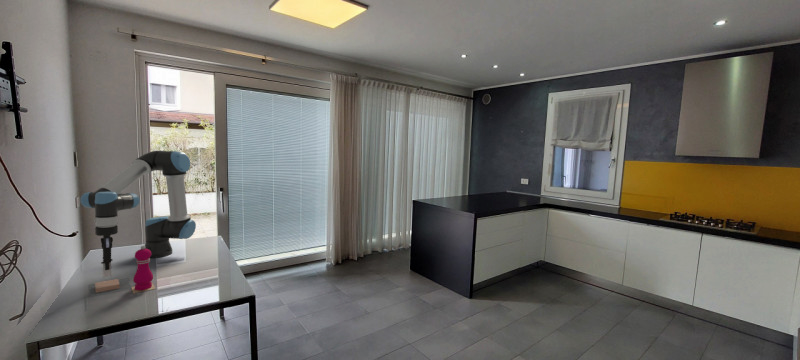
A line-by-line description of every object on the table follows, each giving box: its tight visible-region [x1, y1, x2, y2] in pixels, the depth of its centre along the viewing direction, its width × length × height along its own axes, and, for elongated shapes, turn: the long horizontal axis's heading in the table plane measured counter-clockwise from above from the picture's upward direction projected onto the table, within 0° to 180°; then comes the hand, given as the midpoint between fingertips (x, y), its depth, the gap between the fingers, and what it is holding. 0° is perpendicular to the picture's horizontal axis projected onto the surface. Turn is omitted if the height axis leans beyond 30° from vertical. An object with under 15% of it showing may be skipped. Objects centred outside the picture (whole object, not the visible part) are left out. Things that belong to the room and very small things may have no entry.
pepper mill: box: [132, 245, 154, 290], centre depth 149 cm, size 7×7×20 cm
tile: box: [94, 278, 120, 293], centre depth 148 cm, size 8×2×8 cm
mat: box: [88, 277, 132, 298], centre depth 149 cm, size 14×17×1 cm
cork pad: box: [131, 282, 156, 294], centre depth 149 cm, size 8×8×1 cm
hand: (107, 276), depth 148 cm, fingers closed
